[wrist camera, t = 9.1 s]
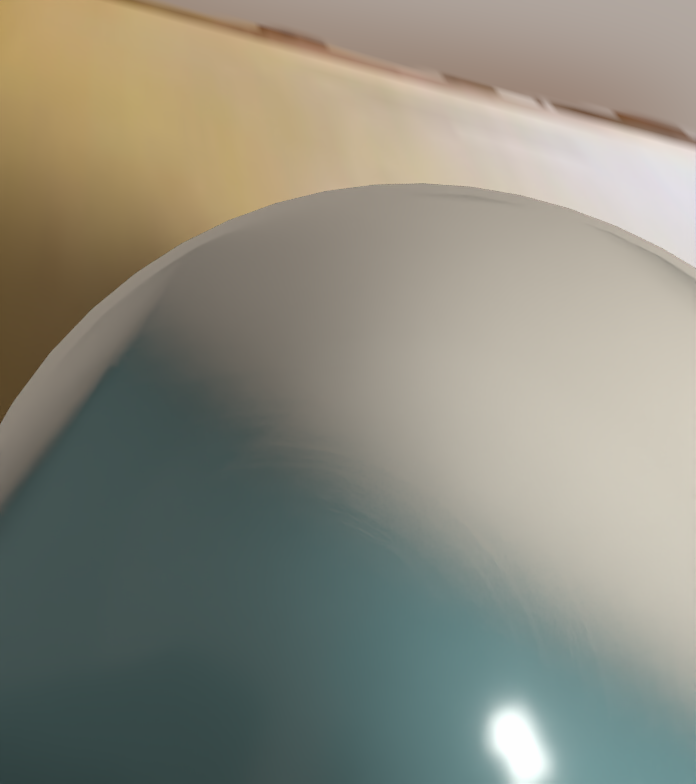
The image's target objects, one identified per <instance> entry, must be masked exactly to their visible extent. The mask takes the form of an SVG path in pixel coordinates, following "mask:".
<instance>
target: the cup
mask: <svg viewBox="0 0 696 784" xmlns="http://www.w3.org/2000/svg"><path fill="white" fill-rule="evenodd" d="M0 784H696V268H694V267H693V266H691V265H689V264H688V263H686V262H684V261H683V260H681V259H679V258H678V257H676V256H674V255H673V254H671V253H669V252H668V251H666V250H664V249H663V248H661V247H659V246H656V245H654V244H652V243H650V242H648V241H646V240H644V239H642V238H640V237H638V236H636V235H634V234H632V233H629V232H627V231H625V230H623V229H621V228H619V227H617V226H615V225H612V224H609V223H607V222H604V221H601V220H599V219H596V218H593V217H591V216H588V215H585V214H583V213H580V212H577V211H575V210H572V209H569V208H566V207H562V206H558V205H555V204H551V203H547V202H544V201H540V200H536V199H532V198H529V197H525V196H521V195H516V194H510V193H504V192H499V191H493V190H487V189H481V188H475V187H466V186H452V185H438V184H424V183H420V184H385V185H369V186H361V187H354V188H346V189H339V190H331V191H324V192H320V193H316V194H312V195H308V196H304V197H299V198H295V199H291V200H287V201H283V202H279V203H275V204H272V205H270V206H267V207H264V208H261V209H259V210H256V211H253V212H250V213H247V214H245V215H242V216H239V217H236V218H234V219H231V220H228V221H226V222H224V223H222V224H220V225H218V226H216V227H214V228H212V229H210V230H208V231H206V232H204V233H202V234H200V235H198V236H196V237H194V238H192V239H190V240H188V241H186V242H183V243H181V244H180V245H178V246H177V247H175V248H174V249H172V250H171V251H169V252H167V253H166V254H164V255H163V256H161V257H160V258H158V259H157V260H155V261H153V262H152V263H150V264H149V265H147V266H146V267H144V268H143V269H141V270H139V271H138V272H136V273H135V274H134V275H133V276H131V277H130V278H129V279H128V280H127V281H125V282H124V283H123V284H122V285H120V286H119V287H118V288H117V289H116V290H114V291H113V292H112V293H111V294H109V295H108V296H107V297H106V298H105V299H103V300H102V301H101V302H100V303H98V304H97V305H96V306H95V307H94V308H92V309H91V310H90V311H89V312H88V314H87V315H86V316H85V317H84V318H83V319H82V320H81V321H80V322H79V323H78V324H77V325H76V326H75V327H74V328H73V329H72V330H71V331H70V332H69V333H68V334H67V335H66V336H65V338H64V339H63V340H62V341H61V342H60V343H59V344H58V345H57V346H56V347H55V348H54V349H53V350H52V351H51V352H50V354H49V355H48V356H47V358H46V359H45V360H44V362H43V363H42V364H41V366H40V367H39V368H38V370H37V371H36V372H35V374H34V375H33V376H32V377H31V379H30V380H29V381H28V383H27V384H26V385H25V387H24V388H23V389H22V391H21V392H20V393H19V395H18V396H17V397H16V399H15V400H14V401H13V403H12V405H11V406H10V408H9V410H8V412H7V413H6V415H5V417H4V419H3V420H2V422H1V424H0Z"/></svg>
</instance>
